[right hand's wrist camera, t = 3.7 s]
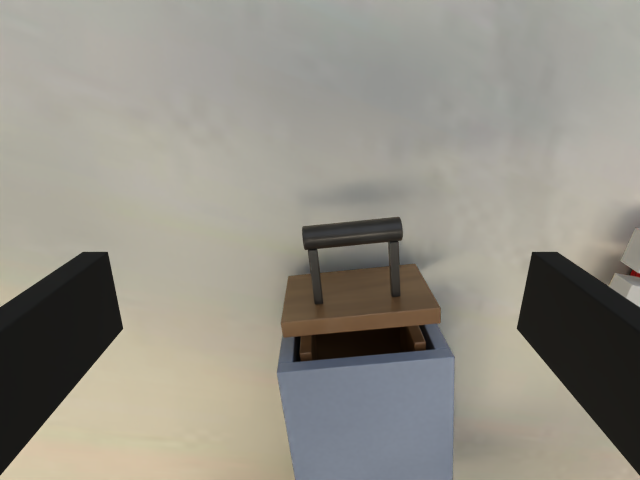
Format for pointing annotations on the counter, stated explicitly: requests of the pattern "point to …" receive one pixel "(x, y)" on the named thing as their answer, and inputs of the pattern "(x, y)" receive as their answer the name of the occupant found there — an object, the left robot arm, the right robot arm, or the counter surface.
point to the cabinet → (370, 413)
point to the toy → (635, 285)
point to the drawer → (357, 298)
